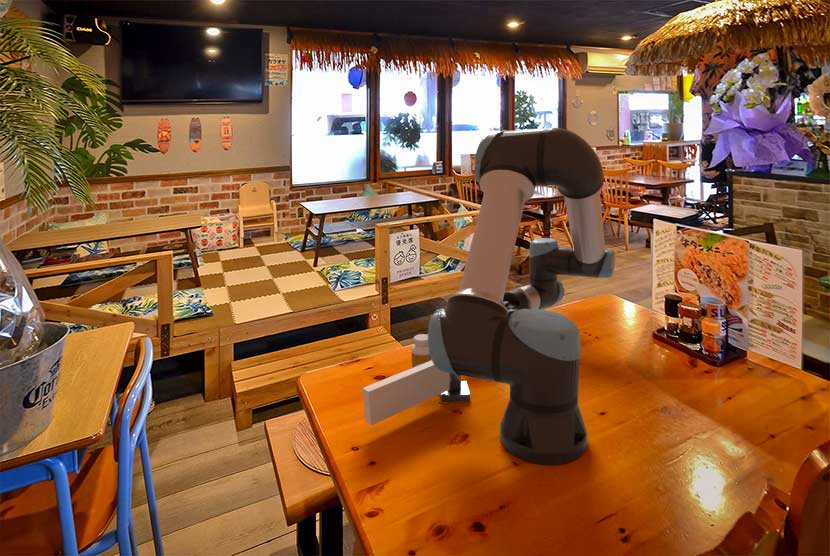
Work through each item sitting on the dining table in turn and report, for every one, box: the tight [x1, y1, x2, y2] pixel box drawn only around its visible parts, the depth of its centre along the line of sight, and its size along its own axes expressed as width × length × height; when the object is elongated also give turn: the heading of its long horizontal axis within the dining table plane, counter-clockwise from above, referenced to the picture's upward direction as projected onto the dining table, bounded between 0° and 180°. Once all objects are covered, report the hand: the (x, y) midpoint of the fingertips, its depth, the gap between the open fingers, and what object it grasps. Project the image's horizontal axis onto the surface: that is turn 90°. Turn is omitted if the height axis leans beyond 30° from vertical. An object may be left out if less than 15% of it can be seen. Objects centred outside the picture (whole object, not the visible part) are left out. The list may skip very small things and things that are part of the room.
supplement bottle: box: [410, 333, 431, 368], centre depth 115 cm, size 5×5×10 cm
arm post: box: [439, 373, 471, 404], centre depth 105 cm, size 6×6×12 cm
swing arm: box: [361, 360, 450, 427], centre depth 98 cm, size 20×2×7 cm, turn 128°
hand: (453, 325), depth 121 cm, fingers closed
